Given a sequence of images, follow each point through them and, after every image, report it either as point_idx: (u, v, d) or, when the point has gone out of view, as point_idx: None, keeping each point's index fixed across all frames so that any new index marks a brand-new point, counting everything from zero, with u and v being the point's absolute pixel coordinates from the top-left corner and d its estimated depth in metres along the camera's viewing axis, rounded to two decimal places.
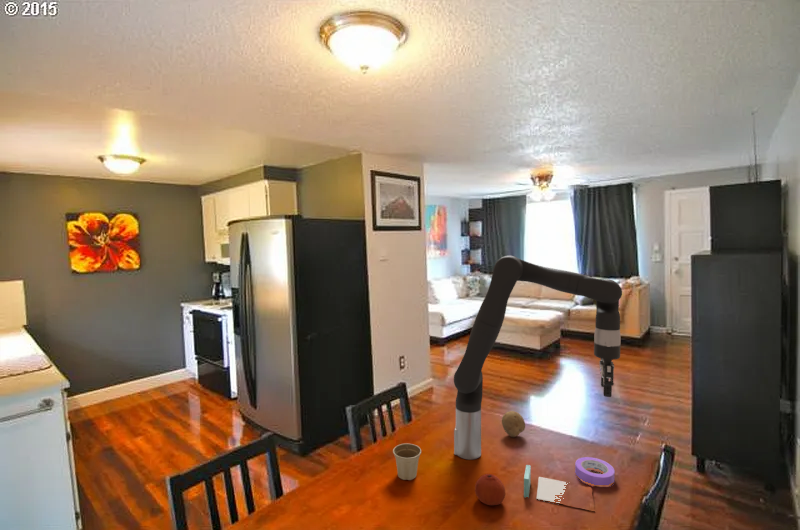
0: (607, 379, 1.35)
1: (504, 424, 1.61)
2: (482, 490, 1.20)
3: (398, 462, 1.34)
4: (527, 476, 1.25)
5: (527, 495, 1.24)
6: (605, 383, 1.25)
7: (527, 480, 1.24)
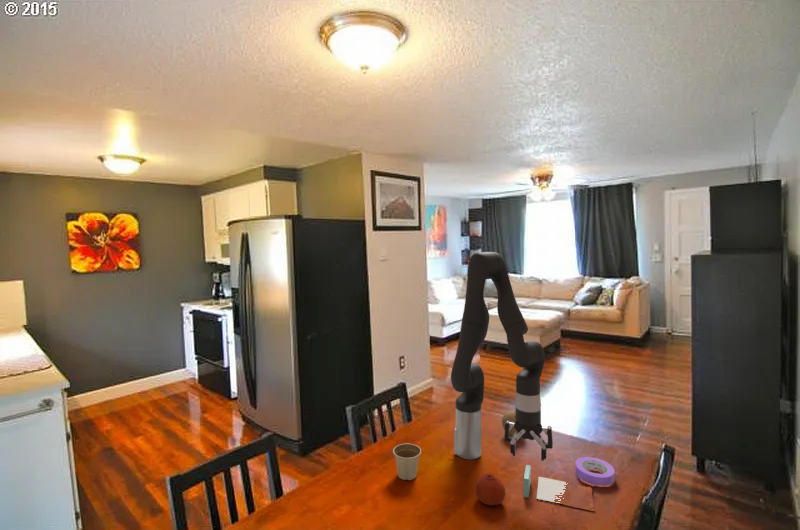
0: (515, 445, 1.29)
1: (504, 424, 1.61)
2: (482, 490, 1.20)
3: (398, 462, 1.34)
4: (527, 476, 1.25)
5: (527, 495, 1.24)
6: (552, 446, 1.23)
7: (527, 480, 1.24)
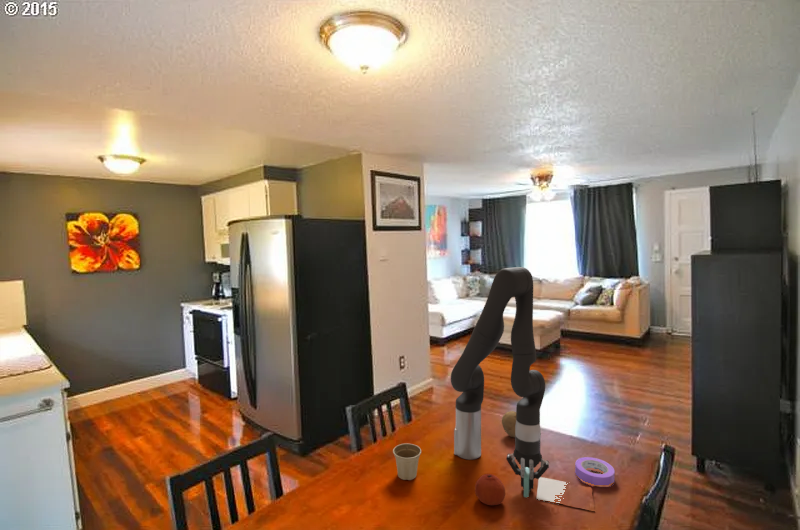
0: None
1: (504, 424, 1.61)
2: (482, 490, 1.20)
3: (398, 462, 1.34)
4: (527, 476, 1.25)
5: (527, 495, 1.24)
6: None
7: (527, 480, 1.24)
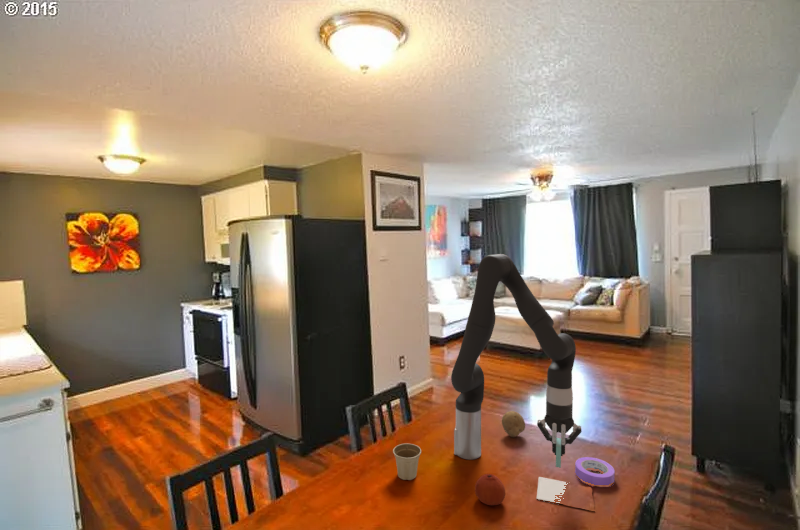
0: None
1: (504, 424, 1.61)
2: (482, 490, 1.20)
3: (398, 462, 1.34)
4: (559, 445, 1.23)
5: (559, 464, 1.21)
6: None
7: (559, 448, 1.22)
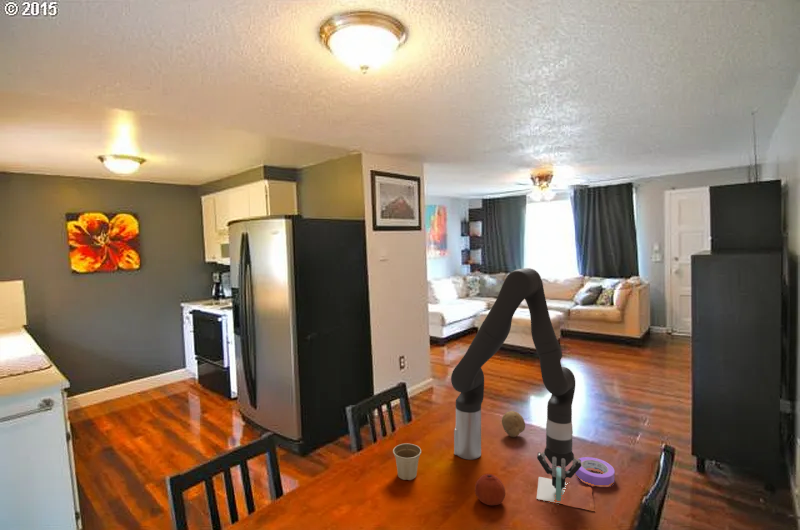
0: None
1: (504, 424, 1.61)
2: (482, 490, 1.20)
3: (398, 462, 1.34)
4: (559, 479, 1.23)
5: (559, 498, 1.22)
6: None
7: (559, 483, 1.22)
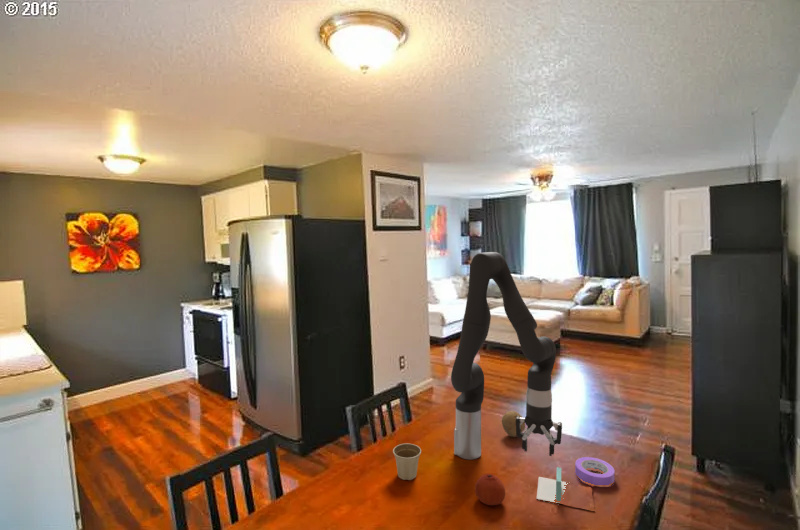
0: None
1: (504, 424, 1.61)
2: (482, 490, 1.20)
3: (398, 462, 1.34)
4: (559, 479, 1.23)
5: (559, 498, 1.22)
6: None
7: (559, 483, 1.22)
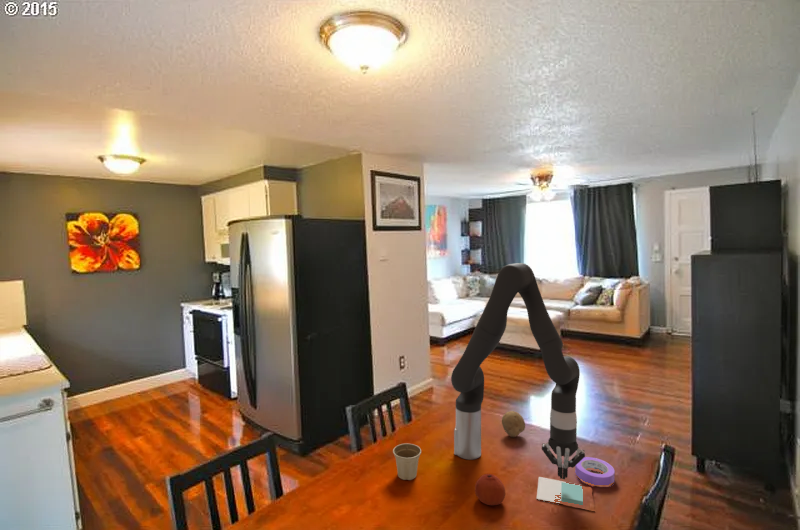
0: None
1: (504, 424, 1.61)
2: (482, 490, 1.20)
3: (398, 462, 1.34)
4: None
5: (564, 501, 1.21)
6: None
7: (581, 504, 1.20)
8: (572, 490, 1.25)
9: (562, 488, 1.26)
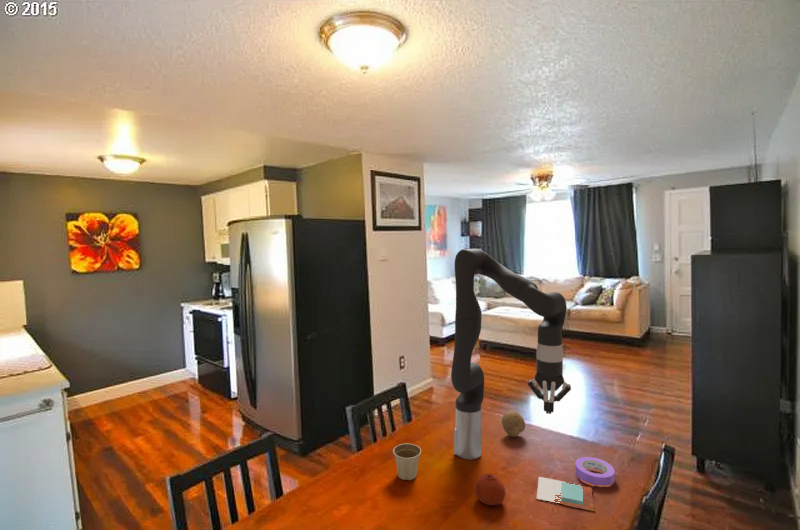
0: None
1: (504, 424, 1.61)
2: (482, 490, 1.20)
3: (398, 462, 1.34)
4: None
5: (564, 501, 1.21)
6: None
7: (581, 504, 1.20)
8: (572, 490, 1.25)
9: (562, 488, 1.26)
